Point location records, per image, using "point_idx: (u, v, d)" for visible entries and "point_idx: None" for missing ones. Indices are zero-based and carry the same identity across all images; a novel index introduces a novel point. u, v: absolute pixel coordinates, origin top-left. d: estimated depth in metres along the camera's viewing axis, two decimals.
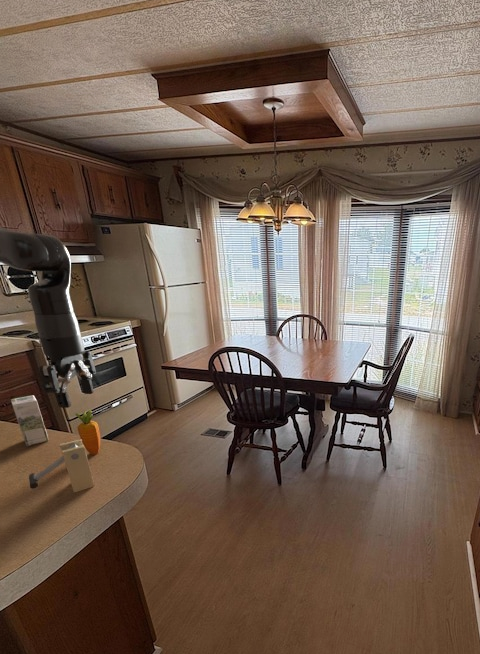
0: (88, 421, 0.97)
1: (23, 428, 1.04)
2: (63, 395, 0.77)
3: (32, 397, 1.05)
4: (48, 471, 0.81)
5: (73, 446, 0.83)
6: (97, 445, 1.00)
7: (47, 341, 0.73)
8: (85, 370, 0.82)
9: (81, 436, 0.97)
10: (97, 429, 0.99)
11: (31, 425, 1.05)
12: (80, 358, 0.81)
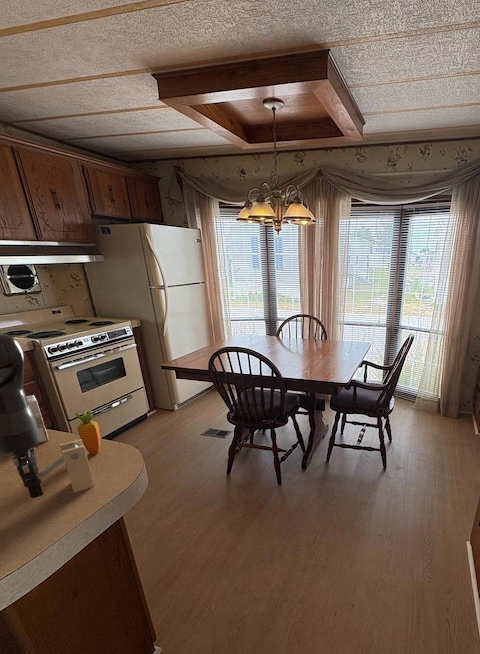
0: (88, 421, 0.97)
1: None
2: (37, 484, 0.78)
3: (32, 397, 1.05)
4: (48, 471, 0.81)
5: (73, 446, 0.83)
6: (97, 445, 1.00)
7: (14, 437, 0.73)
8: (36, 458, 0.81)
9: (81, 436, 0.97)
10: (97, 429, 0.99)
11: None
12: None
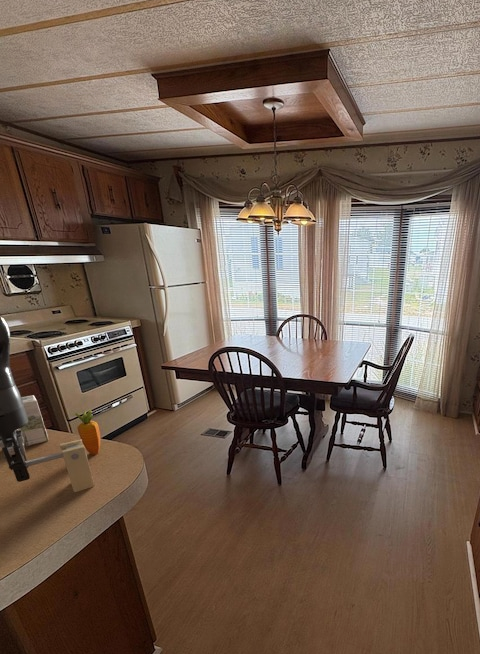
0: (88, 421, 0.97)
1: (23, 428, 1.04)
2: (24, 468, 0.76)
3: (32, 397, 1.05)
4: (40, 461, 0.80)
5: (77, 446, 0.84)
6: (97, 445, 1.00)
7: None
8: (23, 441, 0.78)
9: (81, 436, 0.97)
10: (97, 429, 0.99)
11: (31, 425, 1.05)
12: None
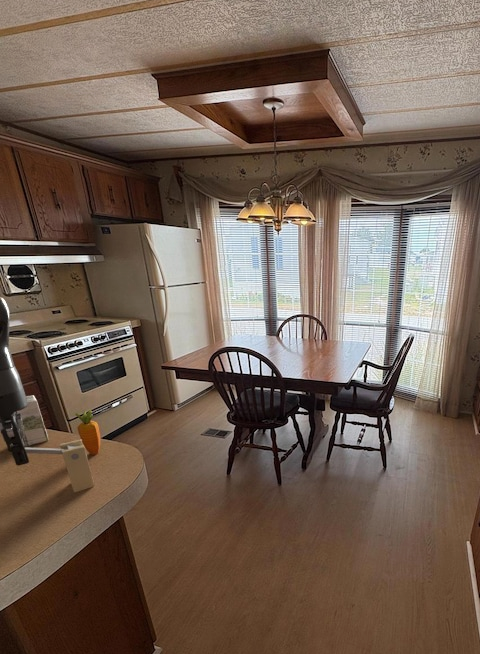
0: (88, 421, 0.97)
1: None
2: (23, 451, 0.75)
3: (32, 397, 1.05)
4: (39, 451, 0.79)
5: None
6: (97, 445, 1.00)
7: None
8: (22, 425, 0.77)
9: (81, 436, 0.97)
10: (97, 429, 0.99)
11: (31, 425, 1.05)
12: (15, 411, 0.76)
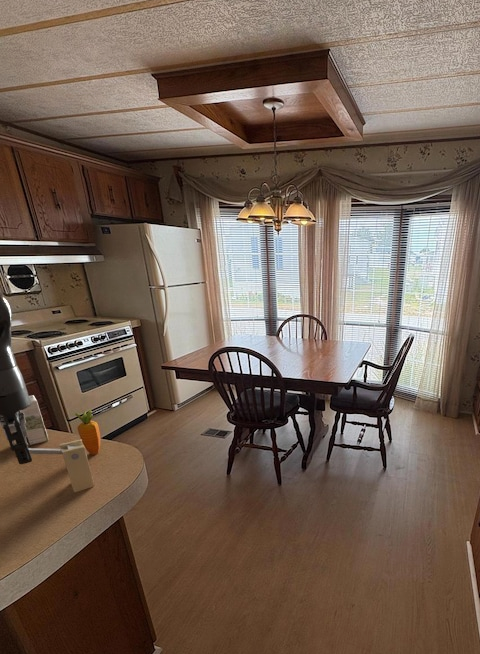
0: (88, 421, 0.97)
1: None
2: (26, 450, 0.74)
3: (32, 397, 1.05)
4: (39, 452, 0.79)
5: None
6: (97, 445, 1.00)
7: (1, 398, 0.69)
8: None
9: (81, 436, 0.97)
10: (97, 429, 0.99)
11: (31, 425, 1.05)
12: (18, 410, 0.77)
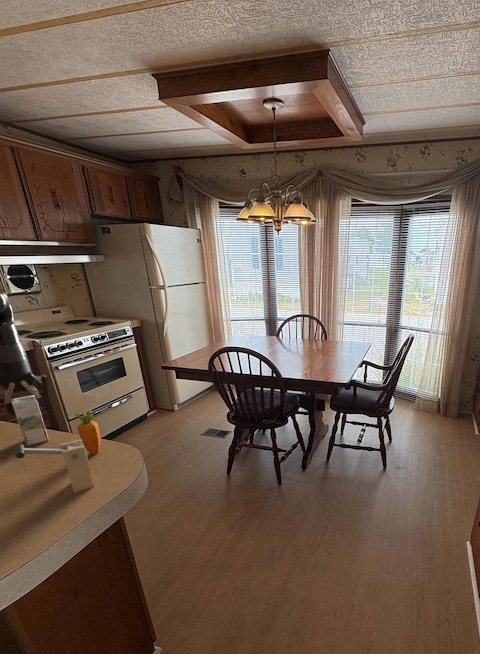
0: (88, 421, 0.97)
1: (23, 428, 1.04)
2: (7, 405, 1.01)
3: (32, 397, 1.05)
4: (39, 452, 0.79)
5: None
6: (97, 445, 1.00)
7: None
8: (30, 389, 1.03)
9: (81, 436, 0.97)
10: (97, 429, 0.99)
11: (31, 425, 1.05)
12: (29, 378, 1.02)
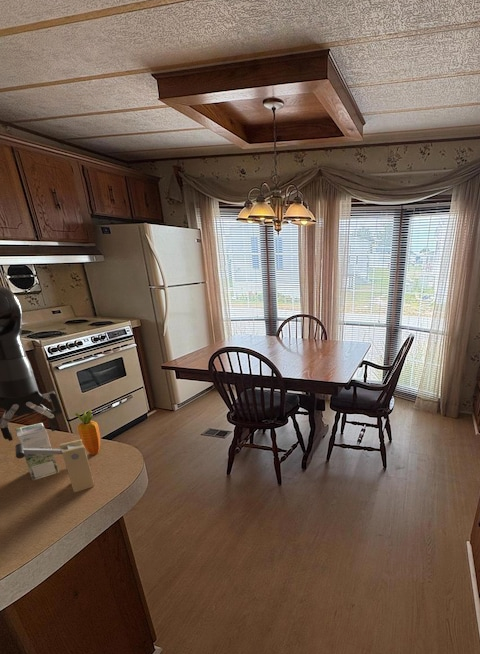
0: (88, 421, 0.97)
1: (30, 462, 0.87)
2: (3, 430, 0.83)
3: (40, 425, 0.88)
4: (39, 452, 0.79)
5: None
6: (97, 445, 1.00)
7: None
8: (39, 410, 0.86)
9: (81, 436, 0.97)
10: (97, 429, 0.99)
11: (39, 459, 0.88)
12: (36, 399, 0.85)
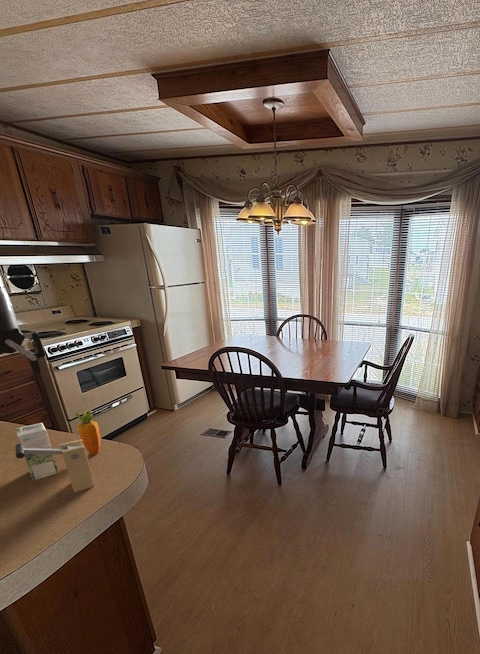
0: (88, 421, 0.97)
1: (30, 462, 0.87)
2: None
3: (40, 425, 0.88)
4: (39, 452, 0.79)
5: None
6: (97, 445, 1.00)
7: None
8: (20, 350, 0.80)
9: (81, 436, 0.97)
10: (97, 429, 0.99)
11: (39, 459, 0.88)
12: (17, 337, 0.79)
